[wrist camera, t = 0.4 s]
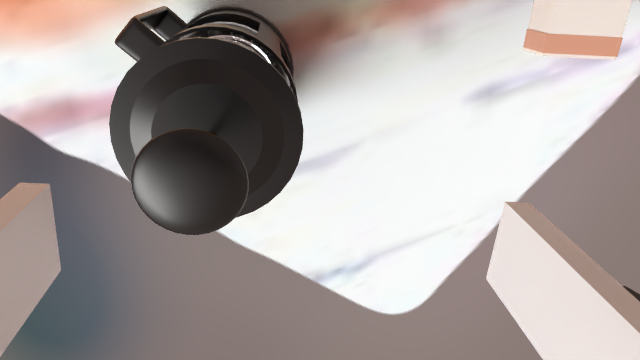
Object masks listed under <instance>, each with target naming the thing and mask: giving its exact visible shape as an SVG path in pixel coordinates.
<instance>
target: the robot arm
mask: <svg viewBox="0 0 640 360" xmlns="http://www.w3.org/2000/svg"><path fill="white" fill-rule="evenodd" d="M60 271H61V266H60V259H59V252H58V244H57V236H56V228H55V221H54V214H53V205H52V198H51V191H50V184H38V183H19V184H18V185H17V186H16V187H14V188H13V189H12V190H11V191H10V192H9V193H7V194H6V195H5V196H4V197H3V198H1V199H0V356H1V355H2V353H3V352H4V350H5V349H6V348H7V346H8V345H9V343H10V342H11V341H12V339H13V338H14V336H15V334H16V333H17V332H18V331H19V329H20V328H21V326H22V325H23V323H24V322H25V321H26V319H27V318H28V316H29V315H30V313H31V312H32V311H33V309H34V308H35V306H36V305H37V303H38V302H39V301H40V299H41V298H42V296H43V295H44V293H45V292H46V291H47V289H48V288H49V286H50V285H51V283H52V282H53V281H54V279H55V278H56V276H57V275H58V273H59V272H60ZM486 279H487V281H488V282H489V283H490V285H491V286H492V288H493V289H494V291H495V292H496V293H497V295H498V296H499V297H500V299H501V300H502V302H503V303H504V305H505V306H506V307H507V309H508V310H509V312H510V313H511V315H512V316H513V318H514V319H515V320H516V322H517V323H518V325H519V326H520V327H521V329H522V330H523V332H524V333H525V335H526V336H527V337H528V339H529V340H530V342H531V343H532V345H533V346H534V347H535V349H536V350H537V352H538V353H539V354H540V356H541V357H542V359H543V360H640V294H638V293H636V292H635V291H633V290H631V289H629V288H628V287H626V286H621V285H620V284H619V283H618V282H617V281H616V280H615V279H614V278H613V277H611V276H610V275H609V274H608V273H607V272H606V271H605V270H604V269H603V268H601V267H600V266H599V265H598V264H597V263H596V262H595V261H594V260H592V259H591V258H590V257H589V256H588V255H587V254H586V253H585V252H583V251H582V250H581V249H580V248H579V247H578V246H577V245H576V244H574V243H573V242H572V241H571V240H570V239H569V238H568V237H567V236H566V235H564V234H563V233H562V232H561V231H560V230H559V229H558V228H557V227H555V226H554V225H553V224H552V223H551V222H550V221H549V220H547V218H545V217H544V216H543V215H542V214H541V213H539V211H537V210H536V209H535V208H534V207H533V206H532V205H531V204H530V203H523V202H505V204H504V208H503V212H502V216H501V220H500V224H499V228H498V233H497V237H496V241H495V245H494V249H493V253H492V257H491V261H490V265H489V269H488V273H487V277H486Z"/></svg>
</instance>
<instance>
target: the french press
mask: <svg viewBox="0 0 640 360" xmlns="http://www.w3.org/2000/svg"><path fill="white" fill-rule="evenodd" d="M150 29H153V30H154V31H156V32H157V33H158V34H159V35H160V36H162V37H163V38H164V39H165V40H166V41H165V42H164V41H163V40H162V39H161V38H160V37H158V36H157V35H156V34H155V33H154V32H152V31H151V30H150ZM115 44H116V45H117V46H118V47H120V48H121V49H122V50H123V51H124V52H126V53H127V54H128V55H129V56H131V57H132V58H133V59H134V60H136V61H137V63H136V64H135V65H134V66H133V67H132V68H131V69H130V70H129V71H128V72H127V73H126V75H125V77H124V78H123V80H122V81H121V83H120V85H119V86H118V88H117V91H116V93H115V96H114V99H113V102H112V105H111V113H110V122H109V125H110V135H111V143H112V146H113V149H114V152H115V155H116V158H117V161H118V162H119V164H120V166H121V168H122V170H123V172H124V173H125V175H126V176H127V178H128V179H129V180H130V181H131V184H132V190H133V193H134V196H135V199H136V201H137V203H138V205H139V206H140V208H141V209H142V210H143V212H144V213H145V214H146V215H147V216H148V217H149V218H150V219H151V220H152V221H154V222H155V223H156V224H158V225H160V226H162V227H163V228H165V229H167V230H170V231H173V232H175V233H181V234H187V235H199V234H205V233H210V232H213V231H216V230H218V229H220V228H222V227H224V226H225V225H227V224H229V223H230V222H231V221H232V220H233V219H234V218H236V217H239V216H242V215H245V214H248V213H251V212H253V211H255V210H257V209H258V208H260V207H262V206H264V205H265V204H267V203H268V202H270V201H271V200H272V199H273V198H274V197H275V196H277V195H278V194H279V193H280V192H281V191H282V189H283V188H284V187H285V186H286V184H287V183H288V182H289V180H290V179H291V177H292V175H293V173H294V171H295V169H296V167H297V165H298V162H299V159H300V155H301V151H302V146H303V125H302V118H301V112H300V109H299V106H298V101H297V94H296V88H295V84H294V81H293V62H292V56H291V53H290V50H289V47H288V44H287V42H286V41H285V39H284V37H283V36H282V34H281V33H280V32H279V30H278V29H277V28H276V27H275V26H274V25H273V24H272V23H271V22H270V21H268V20H267V19H266V18H264V17H263V16H261V15H259V14H257V13H255V12H253V11H251V10H247V9H243V8H240V7H220V8H214V9H211V10H208V11H206V12H203V13H201V14H200V15H198V16H197V17H195V18H193V19H192V20H191V21H190V22H189V23H188V24H186V23H185V22H184V21H183V20H182V19H180V18H179V17H178V16H177V15H176V14H175V13H174V12H172V11H171V10H170V9H169V8H168V7H166V6H163V7H160V8H157V9H154V10H151V11H148V12H145V13H142V14H139V15H136V16H134V17H133V18H131V20H130V21H129V22H128V24H127V25H126V26H125V27H124V29H123V30H122V31H121V33H120V34H119V35H118V37H117V38H116V40H115ZM291 87H292V90H291Z"/></svg>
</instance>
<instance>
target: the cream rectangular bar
mask: <svg viewBox="0 0 640 360" xmlns="http://www.w3.org/2000/svg"><path fill="white" fill-rule="evenodd" d="M631 3H632V0H534V3H533V8H532V13H531V18H530V22H529V27H528V29H527V33H526V37H525V42H524V51H528V52H531V53H534V54H537V55H540V56H547V57H568V58H588V59H609V60H616V57H617V56H618V53H619V49H620V46H621V42H622V39H623V38H622V35H623V32H624V28H625V25H626V21H627V17H628V14H629V10H630V7H631Z"/></svg>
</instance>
